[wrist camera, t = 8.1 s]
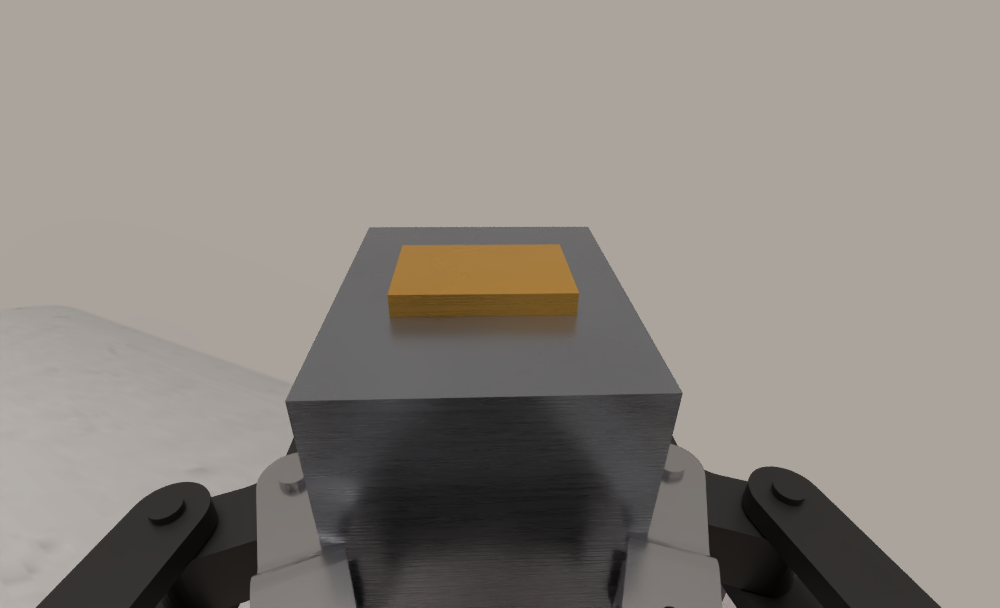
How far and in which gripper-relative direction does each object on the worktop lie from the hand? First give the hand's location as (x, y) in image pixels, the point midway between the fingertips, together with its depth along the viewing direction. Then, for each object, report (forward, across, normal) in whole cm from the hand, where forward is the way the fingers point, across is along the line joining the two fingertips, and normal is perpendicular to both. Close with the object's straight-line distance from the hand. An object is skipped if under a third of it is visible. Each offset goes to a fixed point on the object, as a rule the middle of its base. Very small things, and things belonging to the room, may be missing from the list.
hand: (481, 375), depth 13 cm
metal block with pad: (-3, 0, +6) cm, 7 cm away
